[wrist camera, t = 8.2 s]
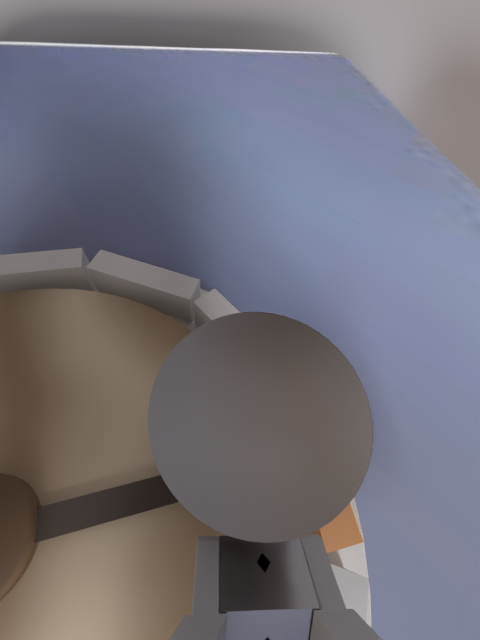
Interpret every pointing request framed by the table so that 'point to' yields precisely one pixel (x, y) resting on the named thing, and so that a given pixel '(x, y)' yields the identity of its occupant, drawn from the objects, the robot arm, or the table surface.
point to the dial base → (192, 311)
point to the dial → (157, 454)
